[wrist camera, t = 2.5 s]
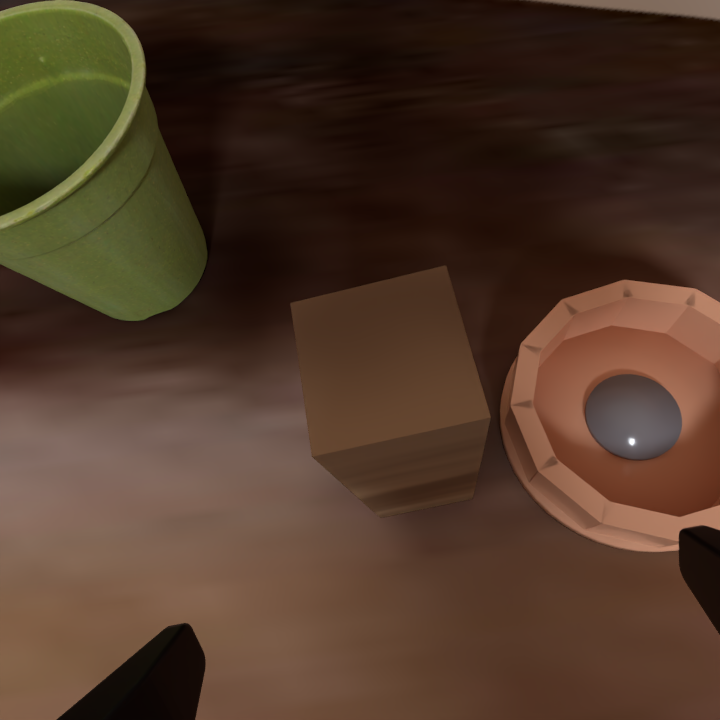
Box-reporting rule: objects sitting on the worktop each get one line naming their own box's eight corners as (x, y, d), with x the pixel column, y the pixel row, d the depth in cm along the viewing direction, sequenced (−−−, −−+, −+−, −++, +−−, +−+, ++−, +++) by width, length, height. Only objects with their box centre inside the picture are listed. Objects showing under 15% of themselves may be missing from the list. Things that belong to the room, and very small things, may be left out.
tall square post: (472, 498, 22) (491, 417, 11) (380, 517, 23) (312, 456, 12) (449, 410, 24) (446, 265, 13) (363, 429, 24) (290, 303, 13)
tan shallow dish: (822, 507, 20) (886, 494, 17) (558, 585, 20) (575, 585, 17) (681, 285, 24) (713, 244, 21) (466, 354, 25) (467, 322, 22)
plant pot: (30, 368, 29) (-206, 248, 18) (82, 193, 33) (-84, 20, 23) (236, 361, 27) (101, 222, 16) (261, 177, 31) (167, -21, 21)
